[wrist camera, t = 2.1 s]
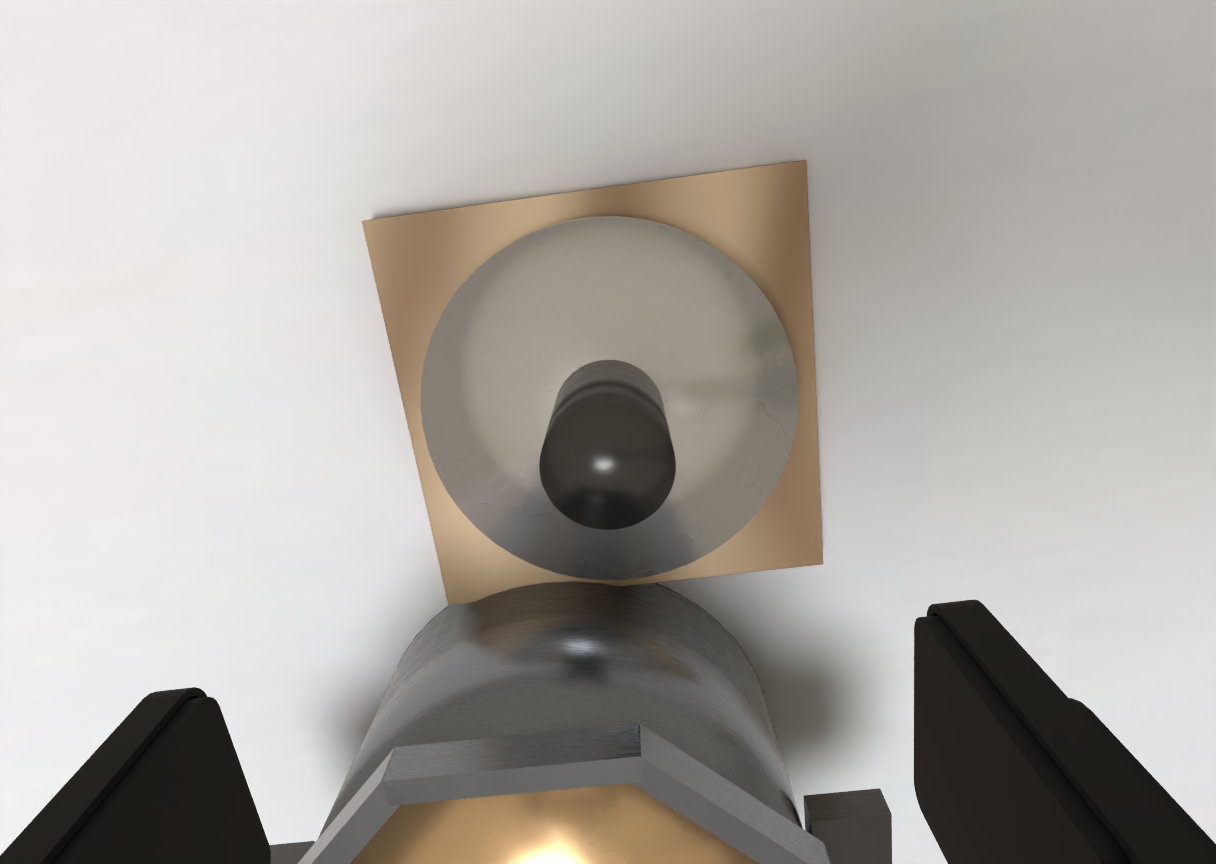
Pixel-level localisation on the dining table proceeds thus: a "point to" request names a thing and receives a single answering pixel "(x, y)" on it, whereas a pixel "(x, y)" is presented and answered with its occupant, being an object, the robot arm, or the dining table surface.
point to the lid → (609, 398)
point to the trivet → (699, 205)
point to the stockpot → (581, 746)
